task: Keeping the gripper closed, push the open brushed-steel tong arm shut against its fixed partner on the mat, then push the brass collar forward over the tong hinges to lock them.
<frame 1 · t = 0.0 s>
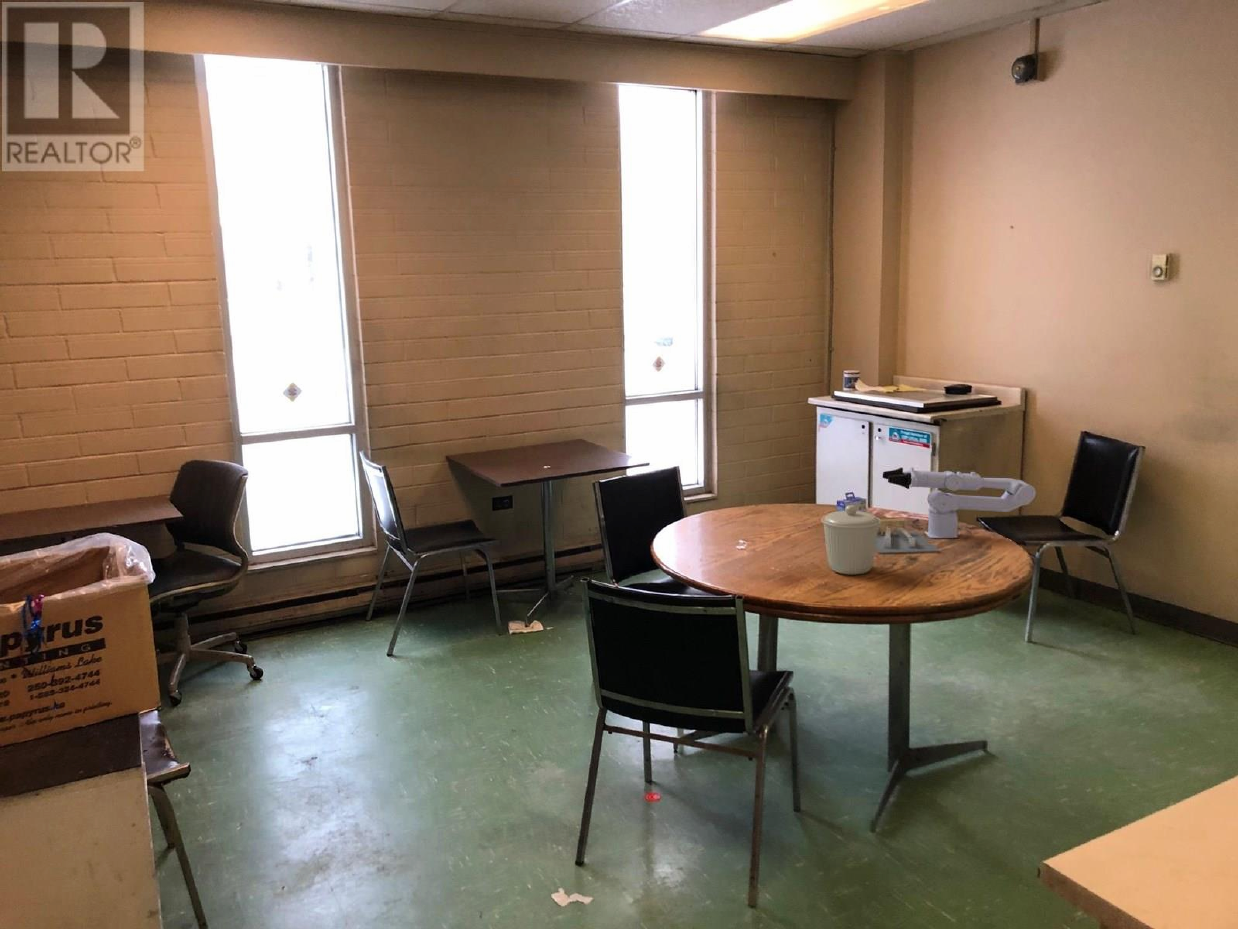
hand: (885, 477, 341), 22 cm above the table, tool horizontal, fingers open, 7 cm apart
tong arm: (887, 537, 336), point 2 cm above the table, hinge at -15.0°
mat: (899, 542, 337), on the table
ink cartridge box: (851, 532, 353), on the table
canister: (850, 570, 308), on the table
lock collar: (891, 526, 346), point 3 cm above the table, slide at 0.0 cm
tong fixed: (899, 537, 344), resting on mat
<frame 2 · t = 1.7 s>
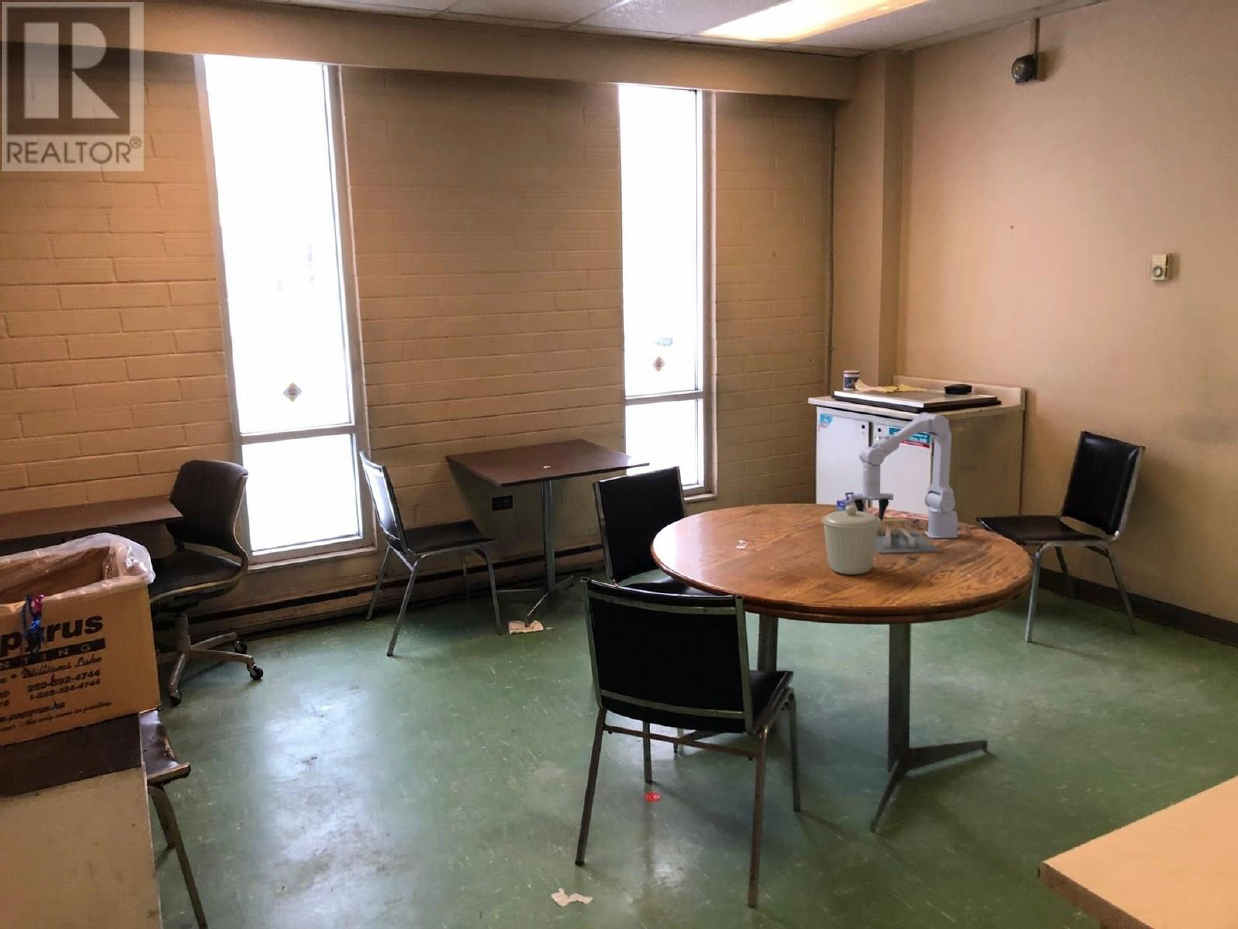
hand: (871, 520, 335), 8 cm above the table, tool pointing down, fingers open, 6 cm apart
nothing on the table moved.
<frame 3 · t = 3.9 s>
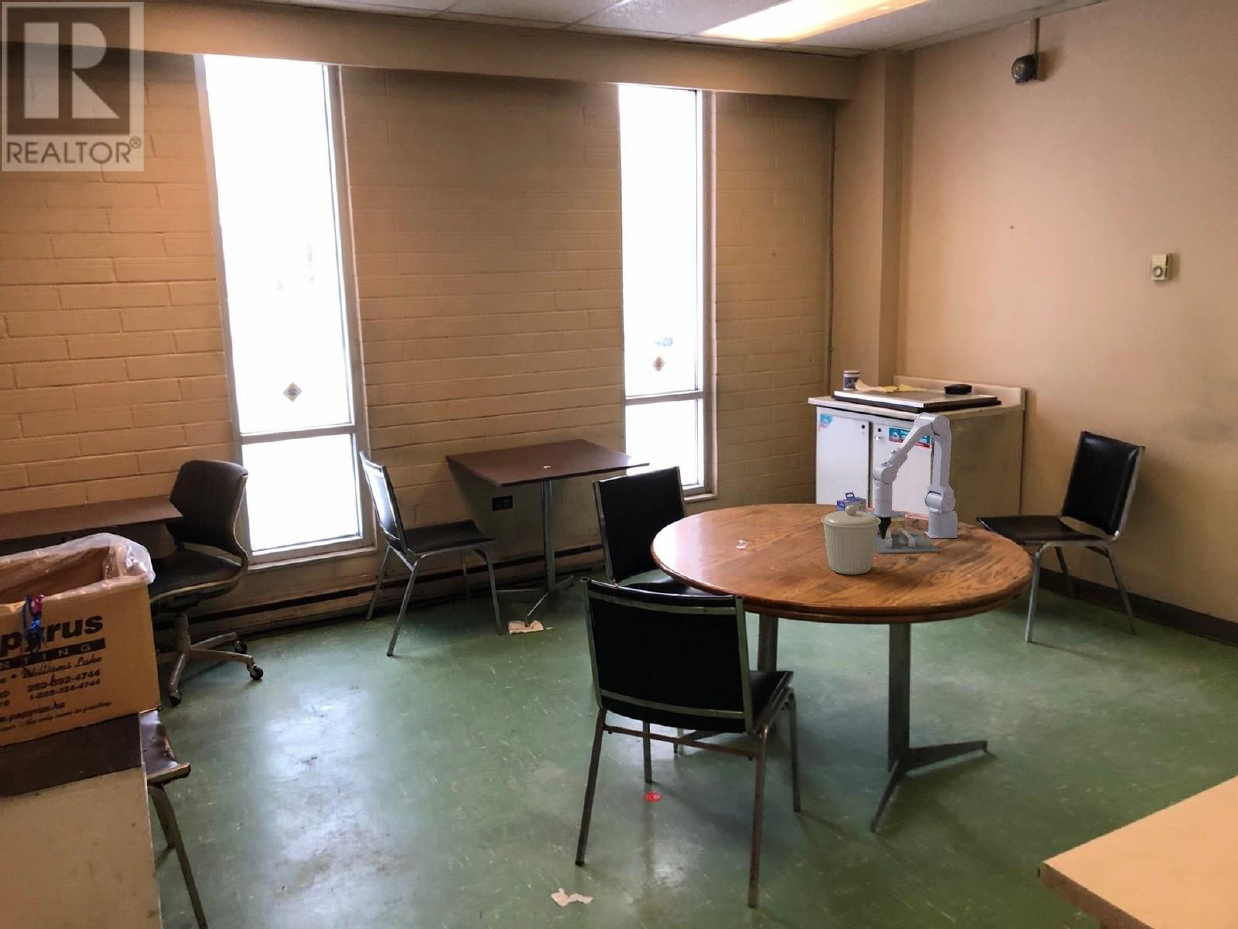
hand: (882, 538, 336), 2 cm above the table, tool pointing down, fingers closed
tong arm: (888, 537, 336), point 2 cm above the table, hinge at -13.7°, touching gripper
everything else where it was.
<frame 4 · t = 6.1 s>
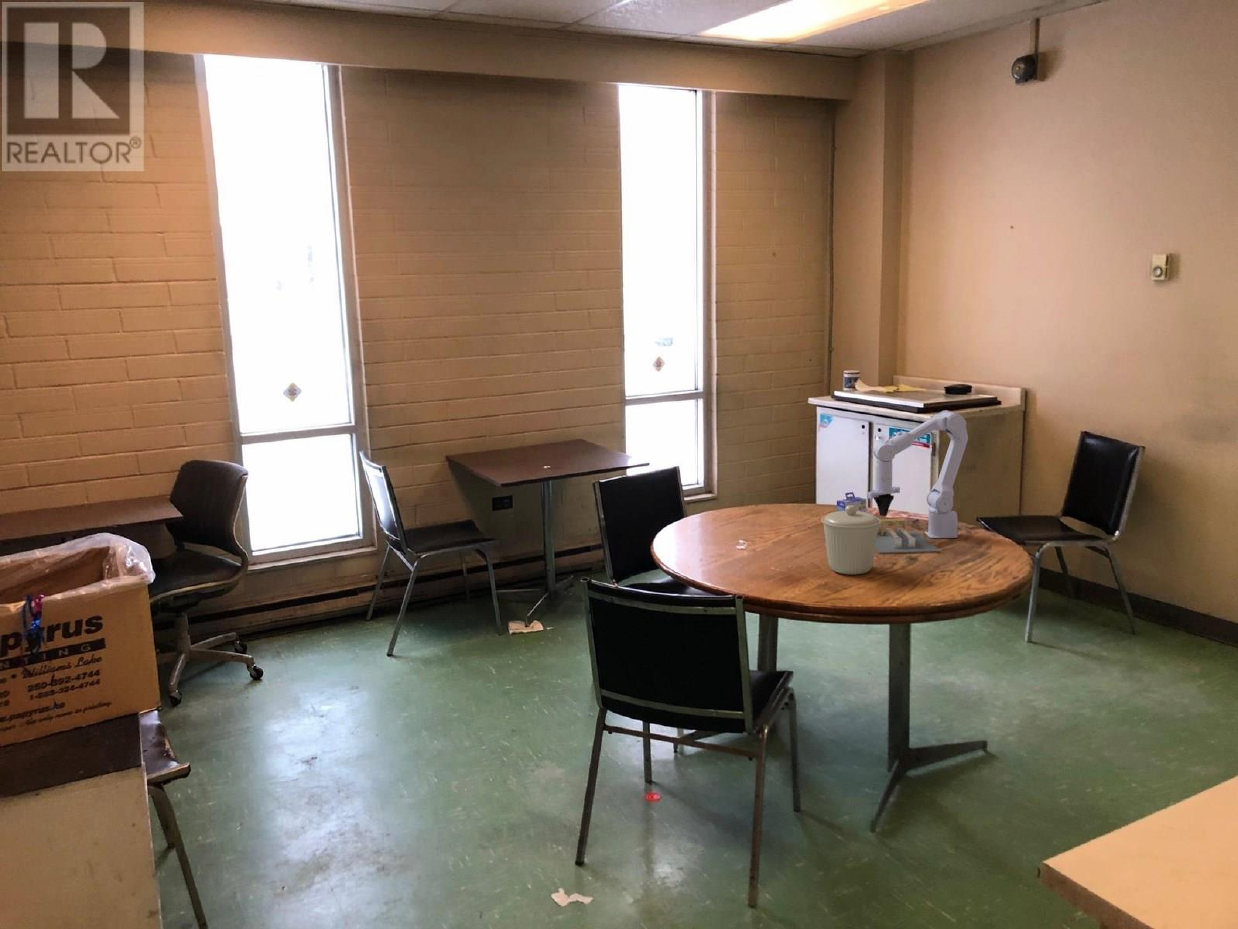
hand: (883, 515, 342), 8 cm above the table, tool pointing down, fingers closed
tong arm: (893, 537, 336), point 2 cm above the table, hinge at -2.0°
everything else where it was.
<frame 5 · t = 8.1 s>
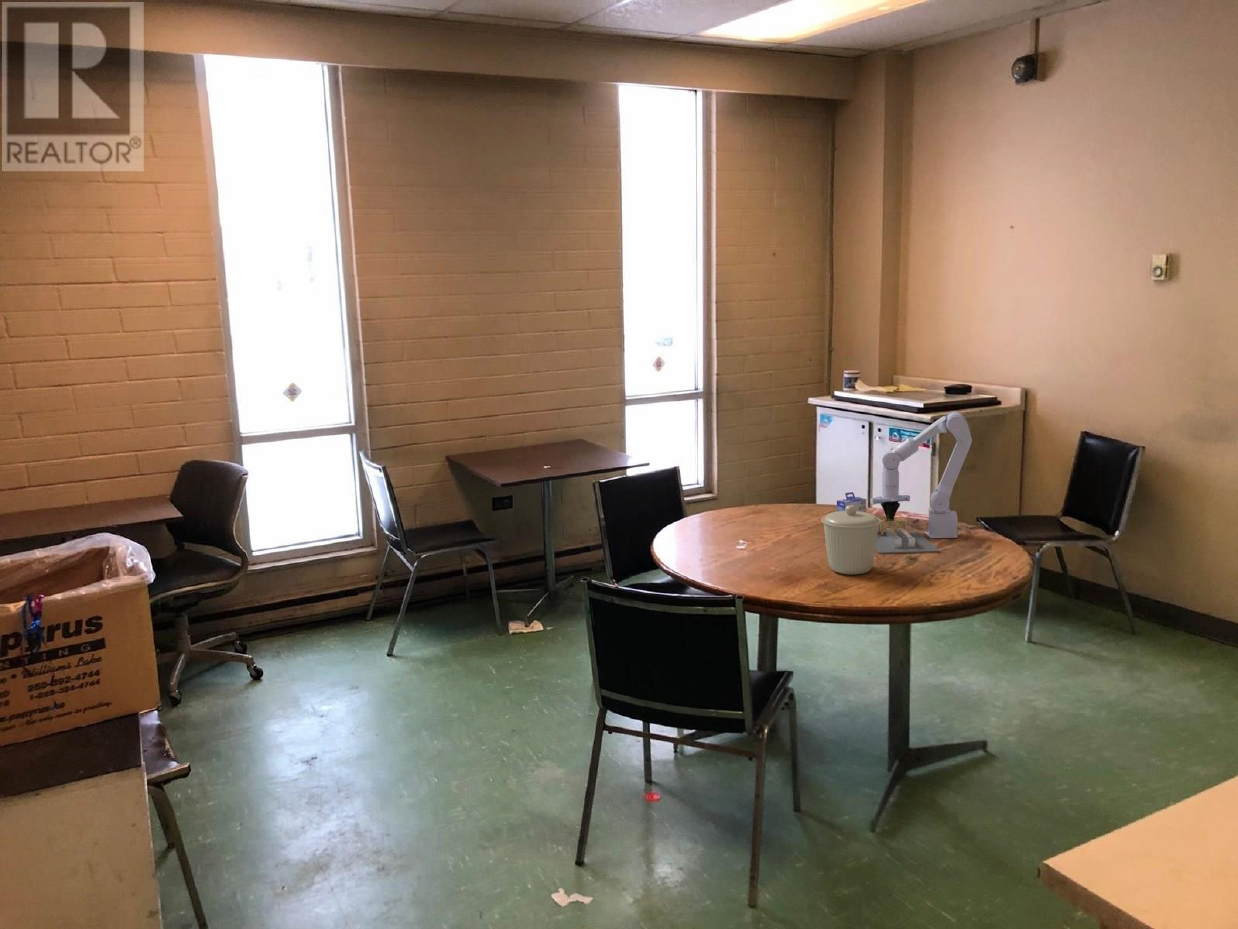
hand: (889, 522, 348), 4 cm above the table, tool pointing down, fingers closed
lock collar: (891, 527, 345), point 3 cm above the table, slide at 0.3 cm, touching gripper
everything else where it was.
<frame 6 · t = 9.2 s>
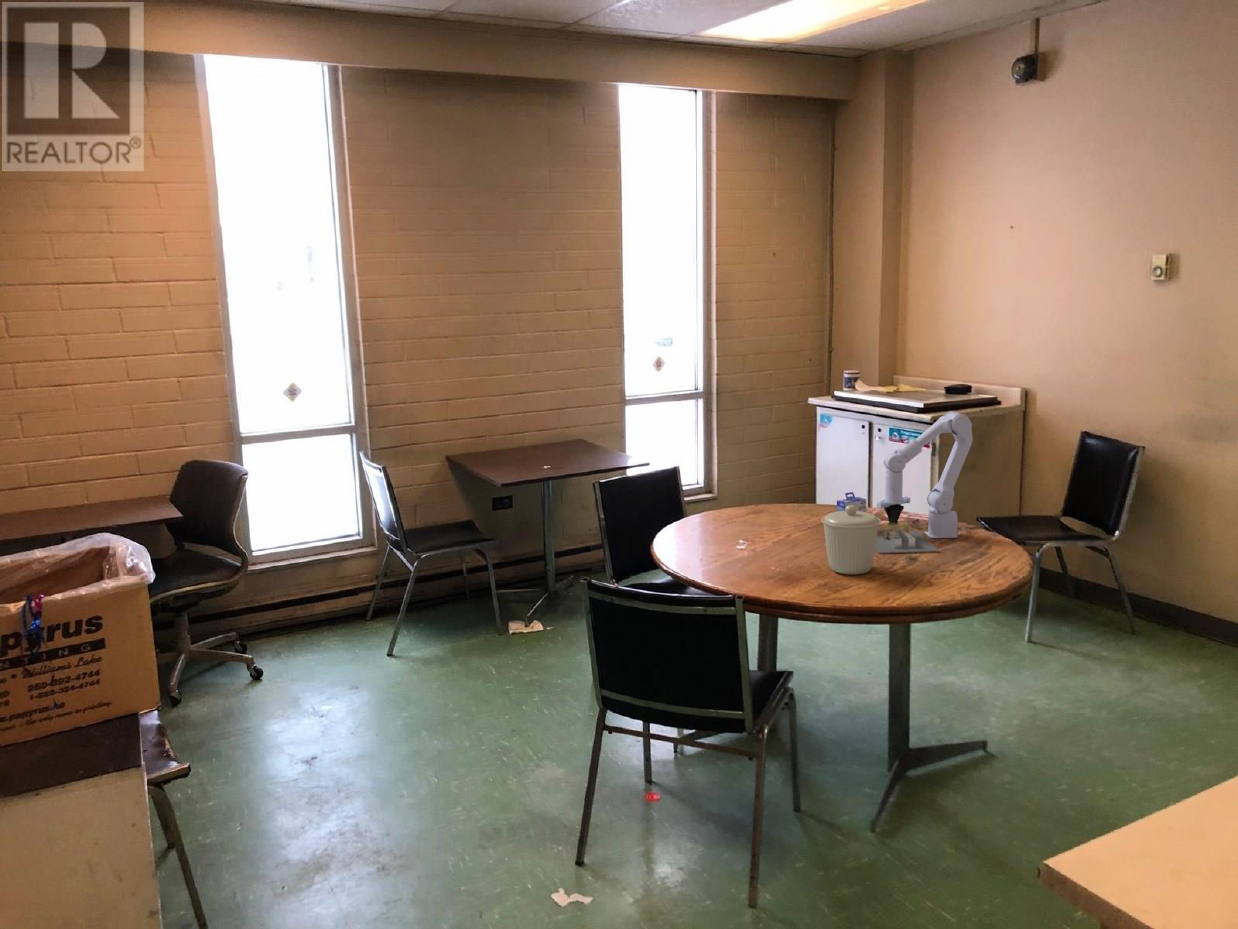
hand: (893, 525, 343), 4 cm above the table, tool pointing down, fingers closed
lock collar: (895, 530, 341), point 3 cm above the table, slide at 5.2 cm, touching gripper
everything else where it was.
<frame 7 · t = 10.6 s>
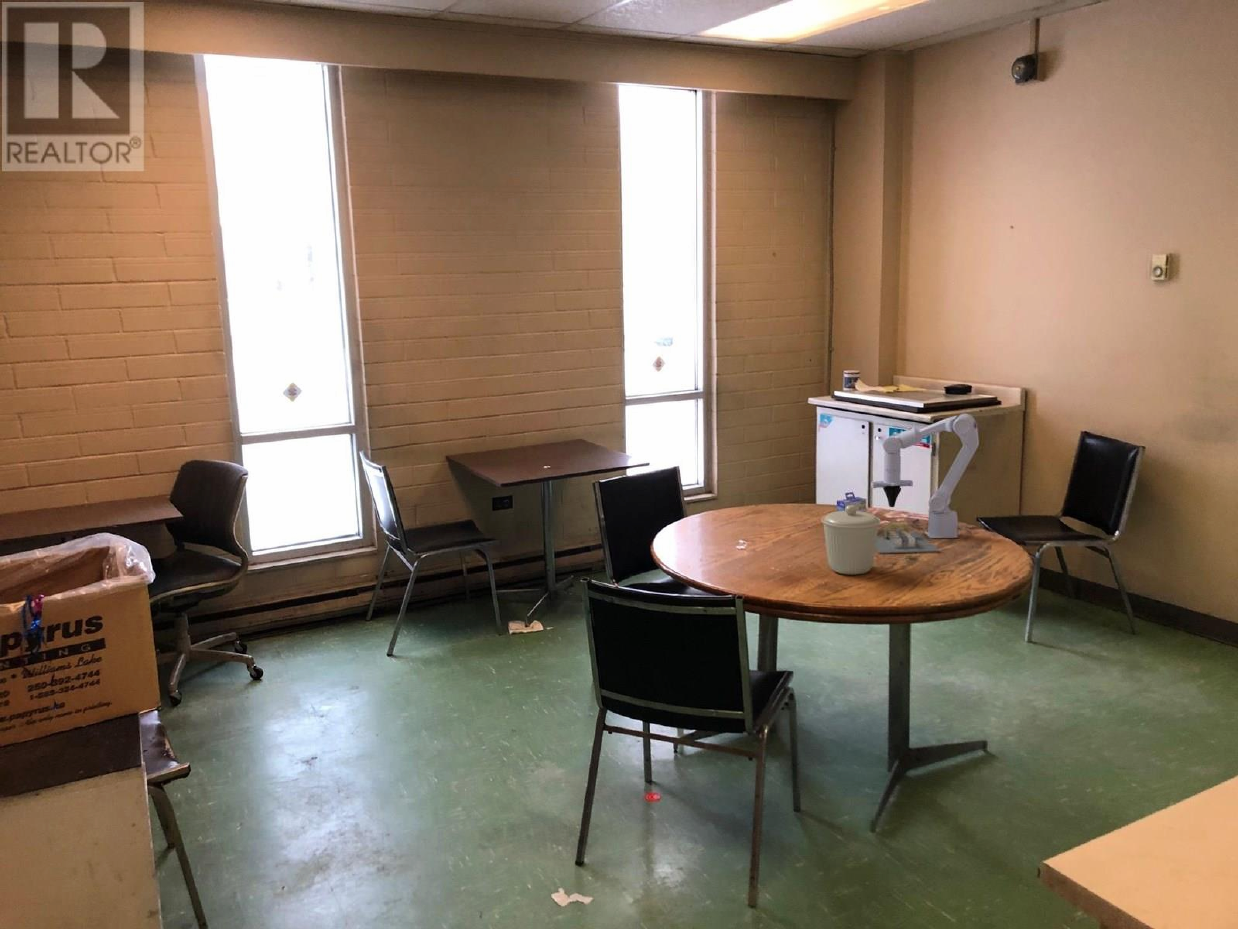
hand: (891, 506, 350), 9 cm above the table, tool pointing down, fingers closed
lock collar: (895, 530, 341), point 3 cm above the table, slide at 5.0 cm
everything else where it was.
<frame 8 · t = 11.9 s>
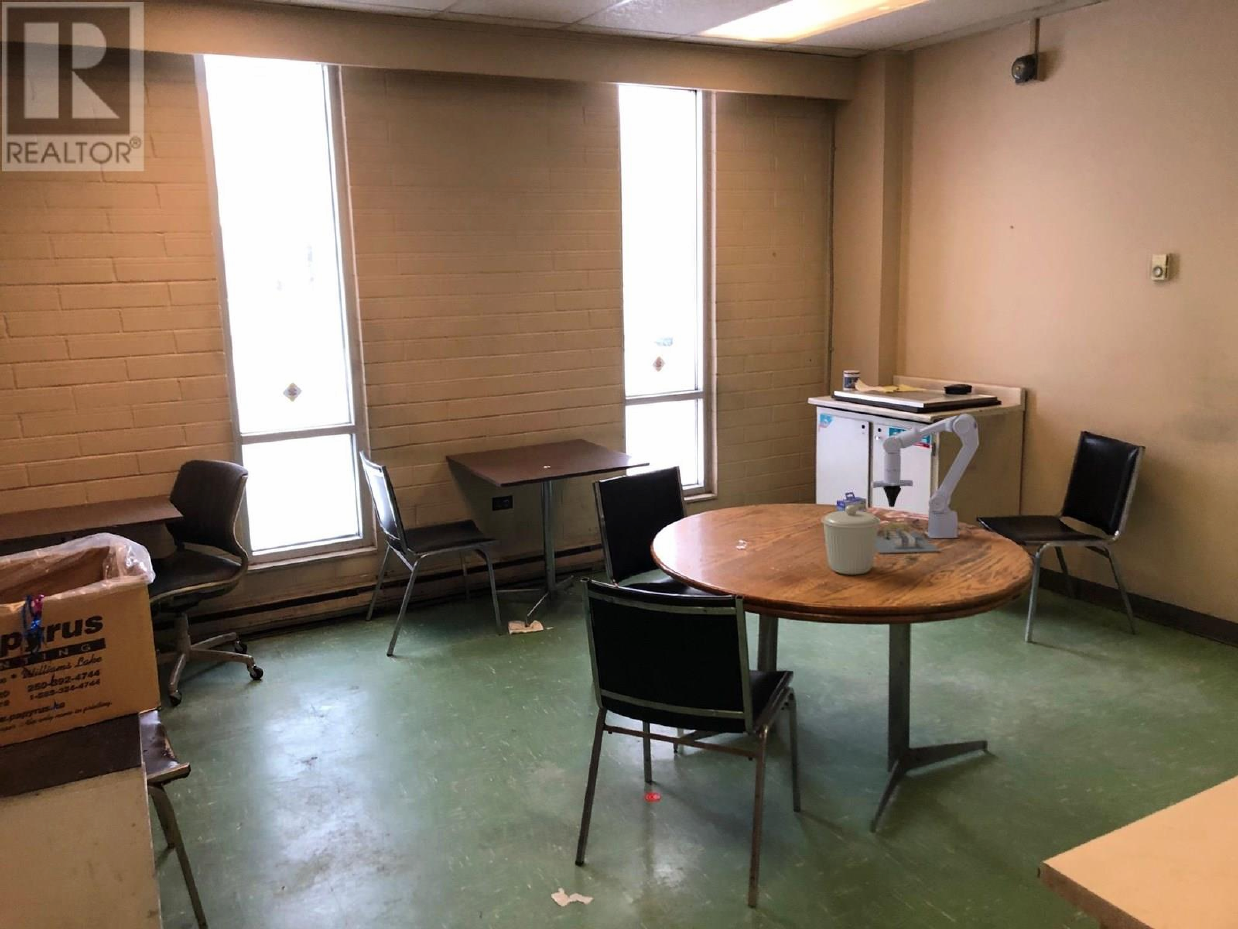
hand: (891, 506, 350), 9 cm above the table, tool pointing down, fingers closed
nothing on the table moved.
at the end: tong arm at -2° (first picture: -15°); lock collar slide at 5.0 cm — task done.
